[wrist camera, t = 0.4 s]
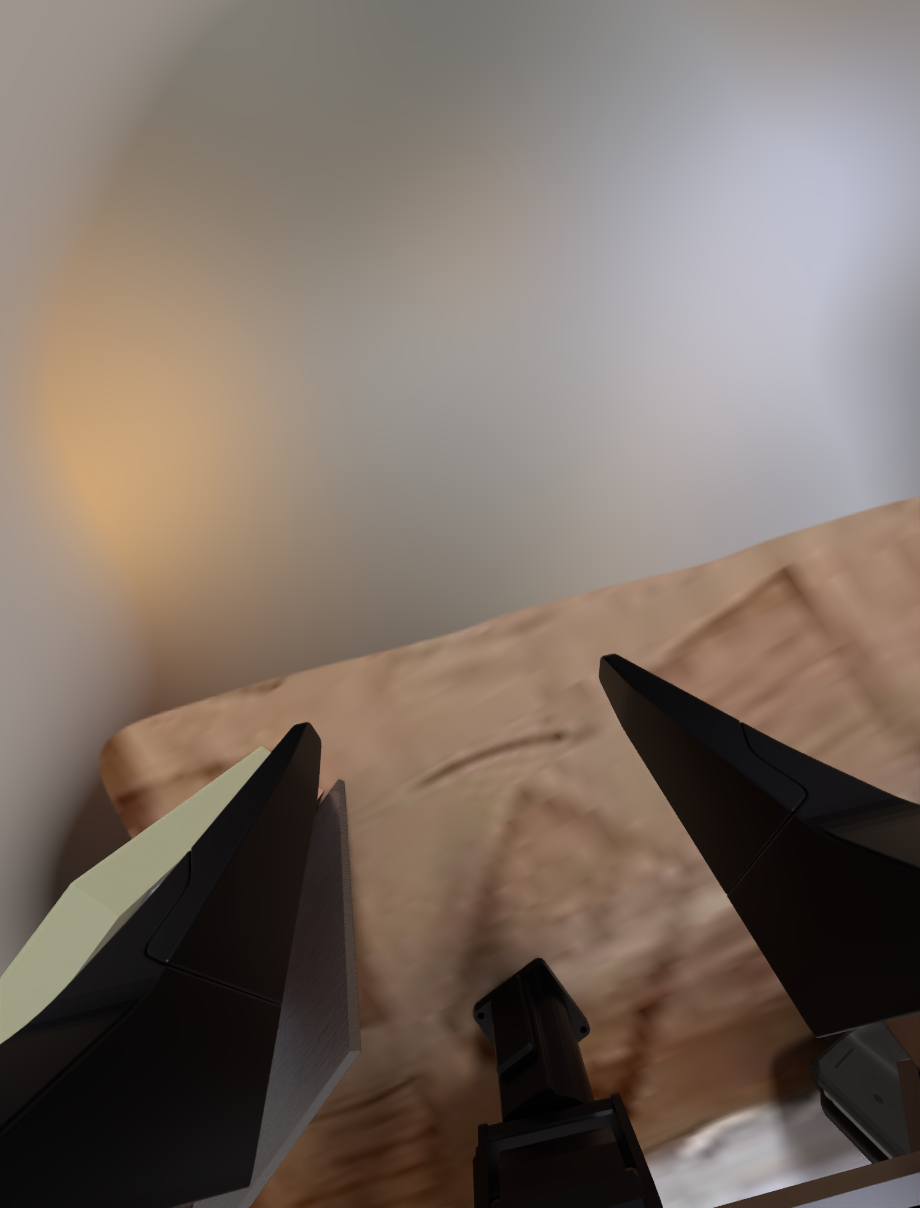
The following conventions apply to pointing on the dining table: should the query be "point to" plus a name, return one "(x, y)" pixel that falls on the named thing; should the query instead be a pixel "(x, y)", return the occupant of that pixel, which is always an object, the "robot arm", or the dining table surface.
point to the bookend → (311, 1002)
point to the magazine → (864, 1090)
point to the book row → (109, 899)
